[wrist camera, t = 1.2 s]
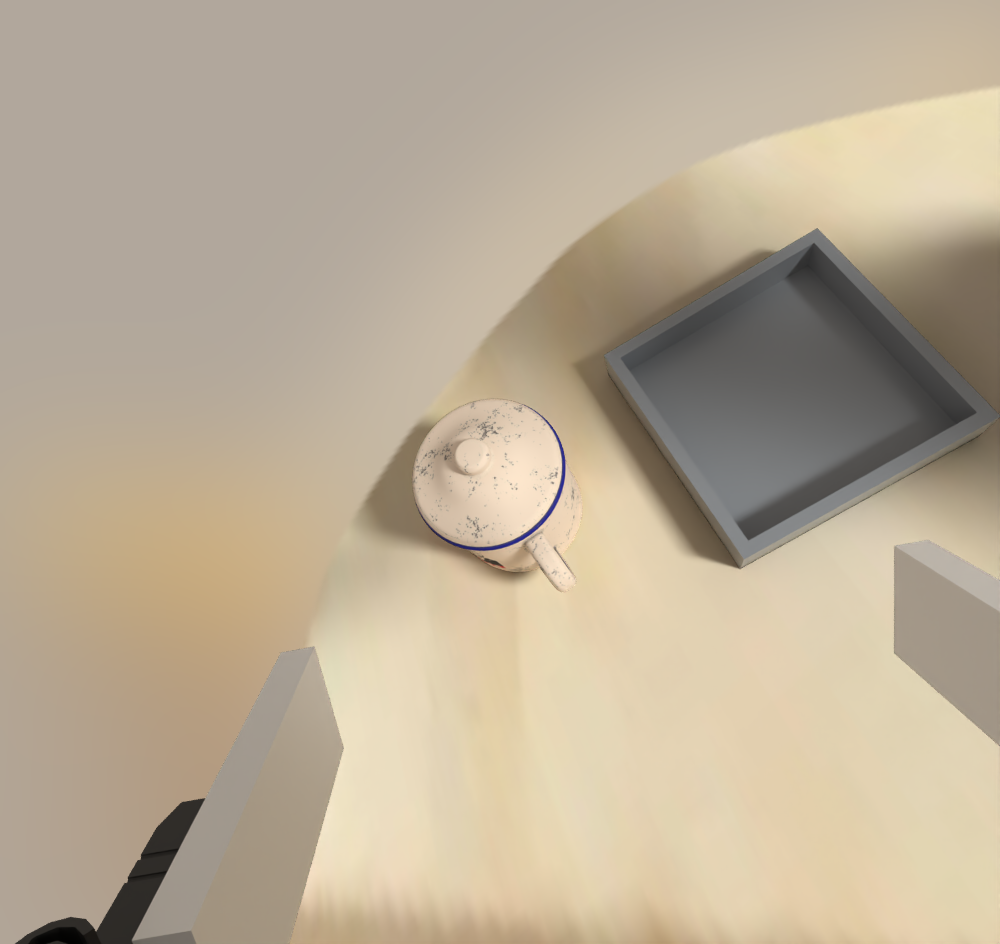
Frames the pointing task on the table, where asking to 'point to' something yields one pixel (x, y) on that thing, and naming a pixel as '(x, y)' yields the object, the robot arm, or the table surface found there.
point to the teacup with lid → (500, 488)
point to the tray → (793, 396)
